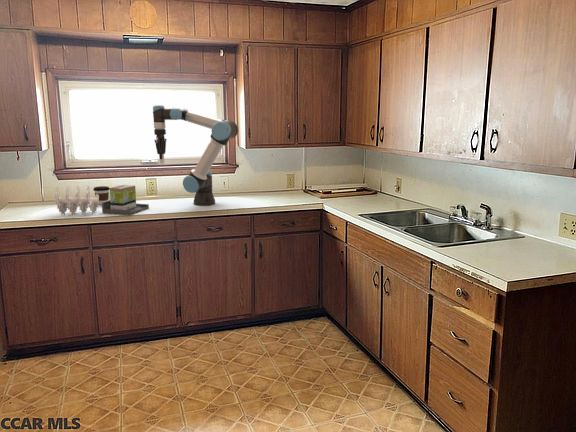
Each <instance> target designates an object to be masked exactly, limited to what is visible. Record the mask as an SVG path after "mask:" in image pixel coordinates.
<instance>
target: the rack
mask: <svg viewBox="0 0 576 432" xmlns="http://www.w3.org/2000/svg"><path fill="white" fill-rule="evenodd" d="M149 206H150V205H149V203H137V202H136V207H134V208H131V209H127V210H120V209H111V203H110V199H108V201H106V202H102V205H101V211H102V214H104V215H105V214H106V215H117V214H119V215H120V216H132V215H135V214H138V213H140V212H143V211H146V210H149V209H150V207H149Z"/></svg>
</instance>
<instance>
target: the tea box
mask: <svg viewBox="0 0 576 432" xmlns="http://www.w3.org/2000/svg"><path fill="white" fill-rule="evenodd" d="M109 188H110V190H109V200H110V203H111V209H120V210H127V209H131V208H134V207H136V203H137V195H136V194H137V193H136V192H137V191H136V185H131V184H129V185H128V184H121V185H117V186H113V187H109Z"/></svg>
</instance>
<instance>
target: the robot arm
mask: <svg viewBox="0 0 576 432" xmlns="http://www.w3.org/2000/svg"><path fill="white" fill-rule="evenodd" d="M152 117H153V130H154V135H155V136H156V139H154V144H155V148H156V154H157V155H158V156H159V157H158V158H159V164H160V165H165V155H166V148H167V140H168V139H167V138H165V135H166V134H167V130H166V127H167V126H166V121H171V120H172V121H178V120H181V121H184V122H188V123H191V124H194V125H197V126H200V127H203V128H206V129H210V130H211V134H210V136H209V137H210V141H209V143H208V144H207V146H206V148H205V149H204V152H203V153H202V155H201V157H200V159H199V161H198V163H197V164H196V166H195V167H194V168H192V169H191V170H190V172H189V174H188V175H187V176H184V177H183V180H182V186H183V189H184V190H185V191H186V192H188V193H190V194H194V199H193V205H195V206H212V205H215V204H216V198H215V197H214V194H213V173H212V172H211V171H210V170H211V167H212V166H213V164H214V163H215V161H216V159H217V157H218V156H219V153H220V152H221V150H222V148H223V147H224V146H227V144H228V142H229V141H230V139H234V138H236V137H237V136H238V134H239V126H238V125H237V123H235V122H234V121H232V120H226V119H222V120H221V119H218V118H215V117H212V116H209V115H205V114H202V113H198V112H195V111H192V110H189V109H188V108H186V107H185V108H184V107H181V108H177V107H172V108H171V107H168V108H165V106H164V105H153V106H152Z"/></svg>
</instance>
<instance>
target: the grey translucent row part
mask: <svg viewBox="0 0 576 432" xmlns="http://www.w3.org/2000/svg"><path fill="white" fill-rule="evenodd" d="M54 195H55V196H54V197H55V204H56V205H57V207H56V209H58V212H59V213H60V215H65V214H66V212H67V211H68V210H69V213H71V215H72V216H73V215H74V214H76V212H77V210H78V208H79V211H81V214H85V213H86V212H87V211H88V208H89V210H90V211H91V214H95V213H96V211H97V210H98V207H99V205H98V204H99V195H98V194H96V196H94V197H90V186H89V185H87V187H86V194H85V197H82V196H80V187H79V185H77V187H76V194H75V197H74V196H73V197H72V196H70V188H69V186H66V189H65V196H60V189H59V186H56V188H55V194H54Z"/></svg>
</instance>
